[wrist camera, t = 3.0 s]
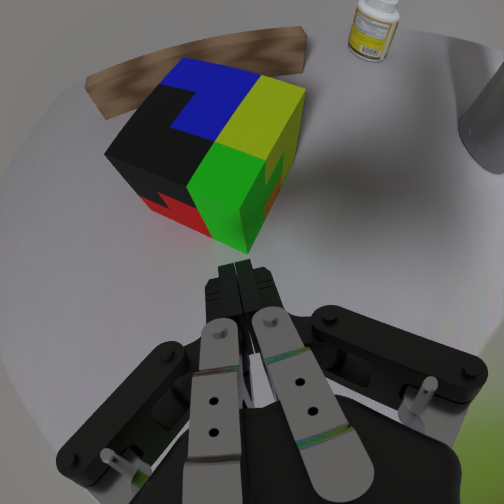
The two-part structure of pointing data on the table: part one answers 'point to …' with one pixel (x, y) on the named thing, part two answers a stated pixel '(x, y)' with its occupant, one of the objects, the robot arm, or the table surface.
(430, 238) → the table surface
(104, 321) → the table surface
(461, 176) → the table surface
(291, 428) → the robot arm
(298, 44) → the board
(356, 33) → the supplement bottle
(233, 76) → the puzzle toy
